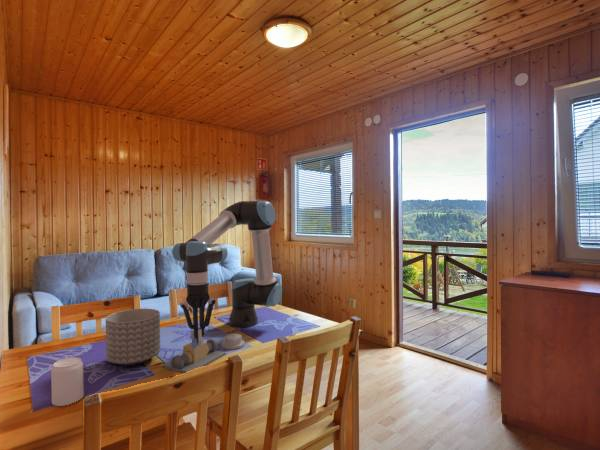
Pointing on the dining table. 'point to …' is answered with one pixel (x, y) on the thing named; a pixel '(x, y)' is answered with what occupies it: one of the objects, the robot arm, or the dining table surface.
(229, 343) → the mechanical component
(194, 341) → the lever
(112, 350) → the planter
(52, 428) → the dining table surface
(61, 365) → the beverage can
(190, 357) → the valve assembly
